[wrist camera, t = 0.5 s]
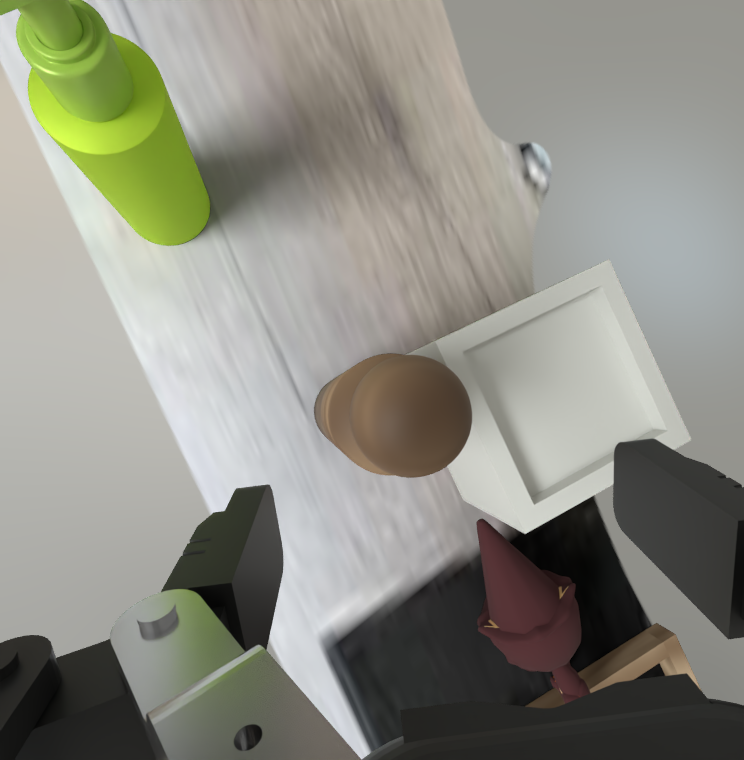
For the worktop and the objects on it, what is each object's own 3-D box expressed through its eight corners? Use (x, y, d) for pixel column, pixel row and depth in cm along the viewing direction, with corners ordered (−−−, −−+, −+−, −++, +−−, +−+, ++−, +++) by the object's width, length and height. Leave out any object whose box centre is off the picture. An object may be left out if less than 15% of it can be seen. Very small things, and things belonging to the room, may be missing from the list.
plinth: (396, 358, 38) (435, 341, 28) (528, 296, 40) (609, 259, 30) (463, 500, 38) (525, 534, 28) (590, 431, 40) (691, 439, 30)
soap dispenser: (237, 219, 36) (173, -3, 17) (149, 259, 35) (-33, 72, 15) (199, 147, 36) (89, -163, 16) (109, 185, 35) (-127, -100, 15)
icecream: (437, 571, 31) (542, 759, 33) (545, 518, 30) (647, 713, 32) (427, 522, 38) (514, 680, 40) (515, 478, 37) (599, 640, 39)
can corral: (505, 718, 38) (517, 735, 36) (656, 622, 40) (675, 634, 38) (579, 874, 38) (595, 899, 36) (724, 770, 40) (746, 788, 38)
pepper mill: (302, 393, 36) (317, 377, 15) (365, 364, 37) (462, 309, 16) (332, 457, 37) (388, 529, 15) (394, 426, 37) (529, 454, 16)
